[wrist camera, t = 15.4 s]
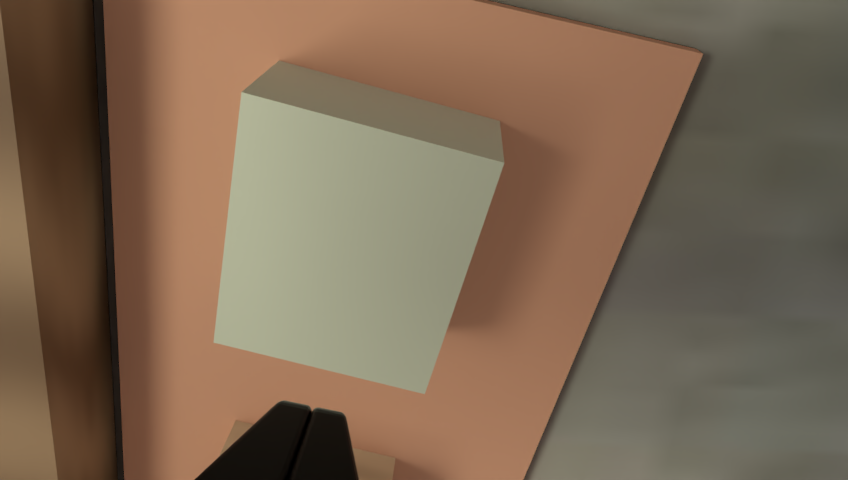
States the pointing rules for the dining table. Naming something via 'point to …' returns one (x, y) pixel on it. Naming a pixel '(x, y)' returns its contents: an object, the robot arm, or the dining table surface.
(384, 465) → the maple tile
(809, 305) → the dining table surface
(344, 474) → the robot arm
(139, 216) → the terracotta mat
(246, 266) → the sage tile
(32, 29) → the walnut board
